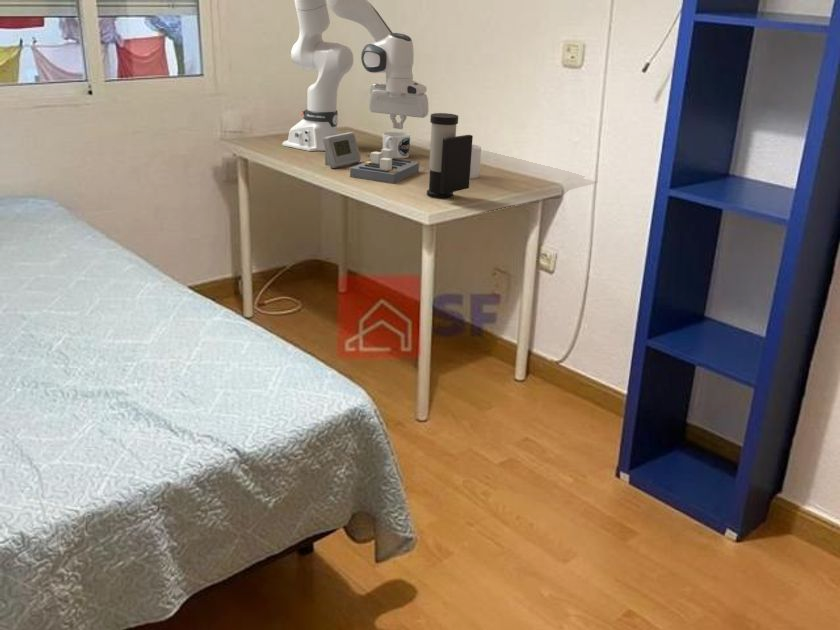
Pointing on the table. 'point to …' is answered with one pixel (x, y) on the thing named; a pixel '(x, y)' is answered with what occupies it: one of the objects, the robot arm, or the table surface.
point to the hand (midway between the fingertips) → (397, 128)
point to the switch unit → (385, 171)
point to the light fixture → (448, 157)
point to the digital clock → (341, 150)
